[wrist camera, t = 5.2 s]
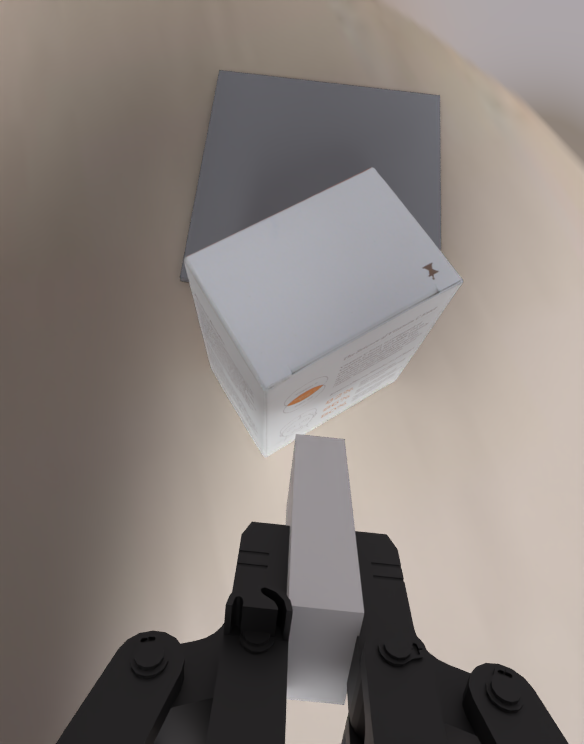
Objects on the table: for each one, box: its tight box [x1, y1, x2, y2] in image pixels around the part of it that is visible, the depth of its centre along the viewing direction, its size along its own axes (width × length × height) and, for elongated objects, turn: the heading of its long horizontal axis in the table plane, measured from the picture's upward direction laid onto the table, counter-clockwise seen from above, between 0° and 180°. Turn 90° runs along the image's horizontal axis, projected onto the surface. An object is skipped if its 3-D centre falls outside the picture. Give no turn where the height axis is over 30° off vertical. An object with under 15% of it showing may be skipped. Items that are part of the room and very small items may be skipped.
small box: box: [184, 167, 463, 457], centre depth 23 cm, size 8×6×10 cm
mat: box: [180, 70, 441, 282], centre depth 32 cm, size 14×15×1 cm
